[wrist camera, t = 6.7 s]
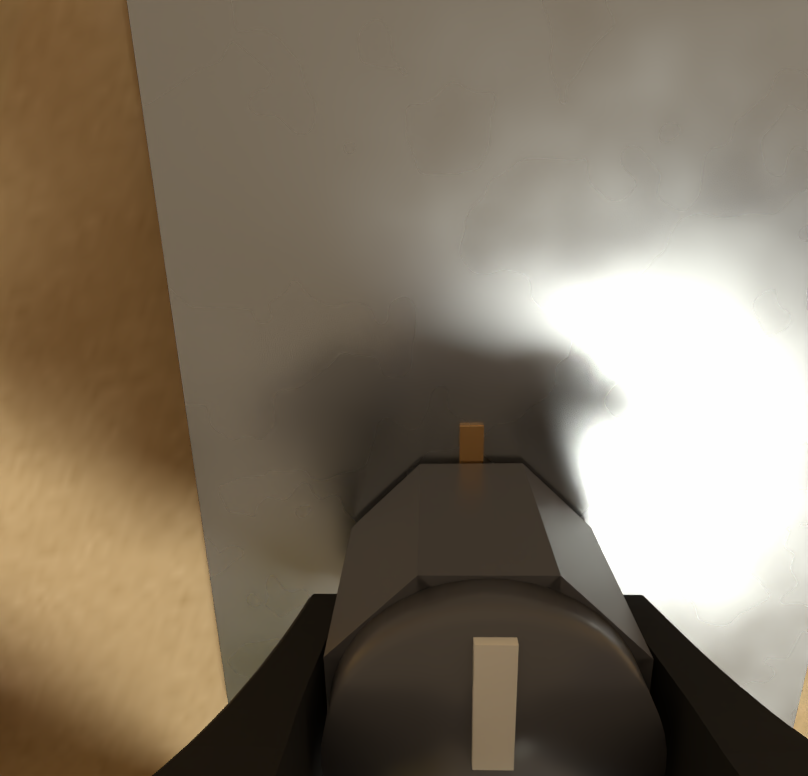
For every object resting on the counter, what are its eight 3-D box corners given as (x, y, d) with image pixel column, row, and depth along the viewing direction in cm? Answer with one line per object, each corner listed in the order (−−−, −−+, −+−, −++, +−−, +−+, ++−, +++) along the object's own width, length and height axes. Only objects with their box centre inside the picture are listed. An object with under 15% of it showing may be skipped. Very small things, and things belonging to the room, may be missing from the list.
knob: (580, 666, 15) (655, 903, 10) (358, 664, 15) (325, 897, 10) (596, 462, 13) (695, 627, 8) (347, 464, 14) (303, 625, 9)
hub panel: (944, -105, 11) (1220, -248, 7) (768, 712, 17) (868, 871, 13) (138, -75, 11) (-3, -192, 8) (243, 707, 17) (193, 858, 14)
